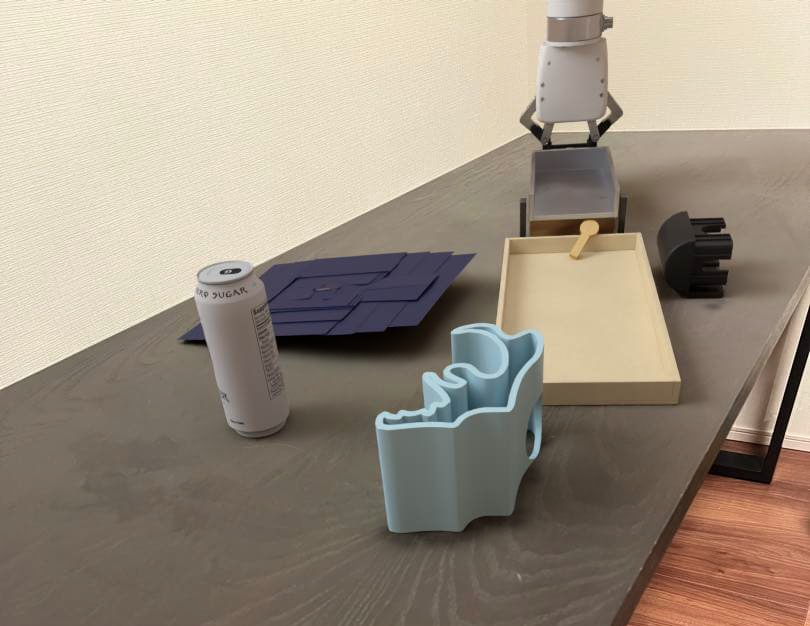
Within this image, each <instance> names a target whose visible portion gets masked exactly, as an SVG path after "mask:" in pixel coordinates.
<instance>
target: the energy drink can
mask: <svg viewBox="0 0 810 626" xmlns="http://www.w3.org/2000/svg"><path fill="white" fill-rule="evenodd" d="M195 277H196V280H197V283H196V288H195V290H194V295H193V297H194V301H195V306H196V309H197V313H198V317H199V320H200V323H201V324H202V328H203V332H204V335H205V339H204V340H205V342H206V346H207V351H208V355H209V358H210V361H211V366H212V369H213V373H214V377H215V380H216V385H217V389H218V392H219V395H220V399H221V403H222V406H223V411H224V414H225V418H226V422H227V424H228V426H229V427H230V428H231V429H233V430H234V431H235V432H236V433H237V434H238V435H240V436H242V437H245V438H262V437H267V436H270V435H272V434H275V433H277V432H279V431H280V430H281V429H282V428H283V427H284V426H285V425H286V423H287V419H288V417H289V416H290V413H291V411H290V410H291V409H290V404H289V400H288V399H289V398H288V394H287V390H286V385H285V380H284V376H283V371H282V370H283V369H282V366H281V361H280V356H279V351H278V346H277V340H276V336H274V331H273V326H272V321H271V316H270V311H269V307H268V302H267V297H266V292H265V287H264V284H263V282H262V281H261V279H260V278H259V277H260V276H259V275H257V273H256V272H255V271H254V265H253V264H252V263H251V262H249V261H245V260H234V259H233V260H225V261H218V262H215V263H212V264H209V265H207V266H204V267H202V268H201V269H200V270H198V271H197V273H196V275H195Z"/></svg>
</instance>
